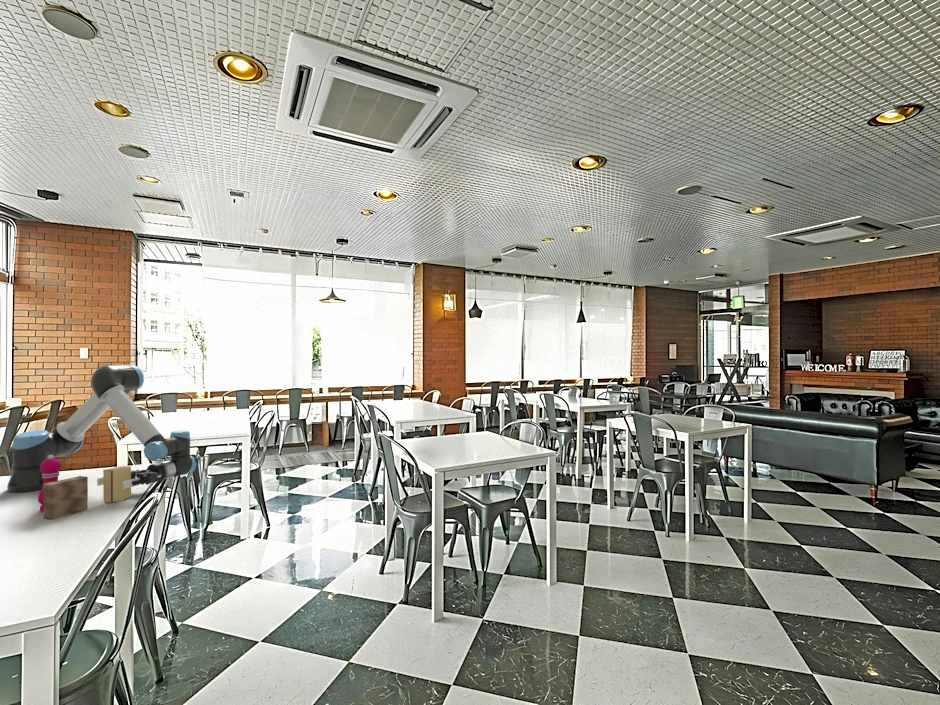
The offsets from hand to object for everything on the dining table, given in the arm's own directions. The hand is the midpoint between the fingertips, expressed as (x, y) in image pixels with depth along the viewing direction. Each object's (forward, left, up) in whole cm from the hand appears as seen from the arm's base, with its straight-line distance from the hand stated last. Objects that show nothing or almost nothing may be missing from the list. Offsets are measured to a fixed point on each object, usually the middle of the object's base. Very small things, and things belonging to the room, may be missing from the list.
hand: (110, 483), depth 198 cm
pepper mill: (+1, -18, -7) cm, 19 cm away
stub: (-2, +2, -7) cm, 8 cm away
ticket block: (+10, -12, -7) cm, 17 cm away
